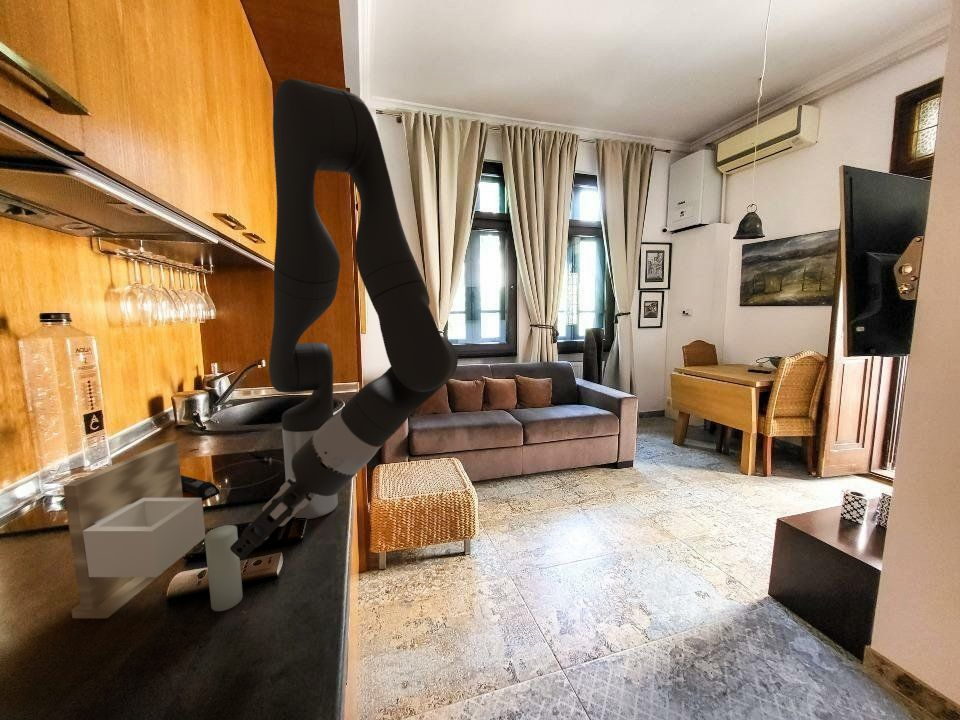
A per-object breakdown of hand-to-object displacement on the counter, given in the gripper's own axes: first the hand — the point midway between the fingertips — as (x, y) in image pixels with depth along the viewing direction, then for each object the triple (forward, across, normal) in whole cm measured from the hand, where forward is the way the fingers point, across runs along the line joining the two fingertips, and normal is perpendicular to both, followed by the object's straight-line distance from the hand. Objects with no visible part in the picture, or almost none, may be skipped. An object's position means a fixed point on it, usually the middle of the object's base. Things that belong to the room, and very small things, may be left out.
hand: (257, 533), depth 51 cm
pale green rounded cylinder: (+10, 0, +4) cm, 11 cm away
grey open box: (+14, -1, -8) cm, 16 cm away
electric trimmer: (+32, -33, -17) cm, 48 cm away
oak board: (+22, -5, -8) cm, 24 cm away
